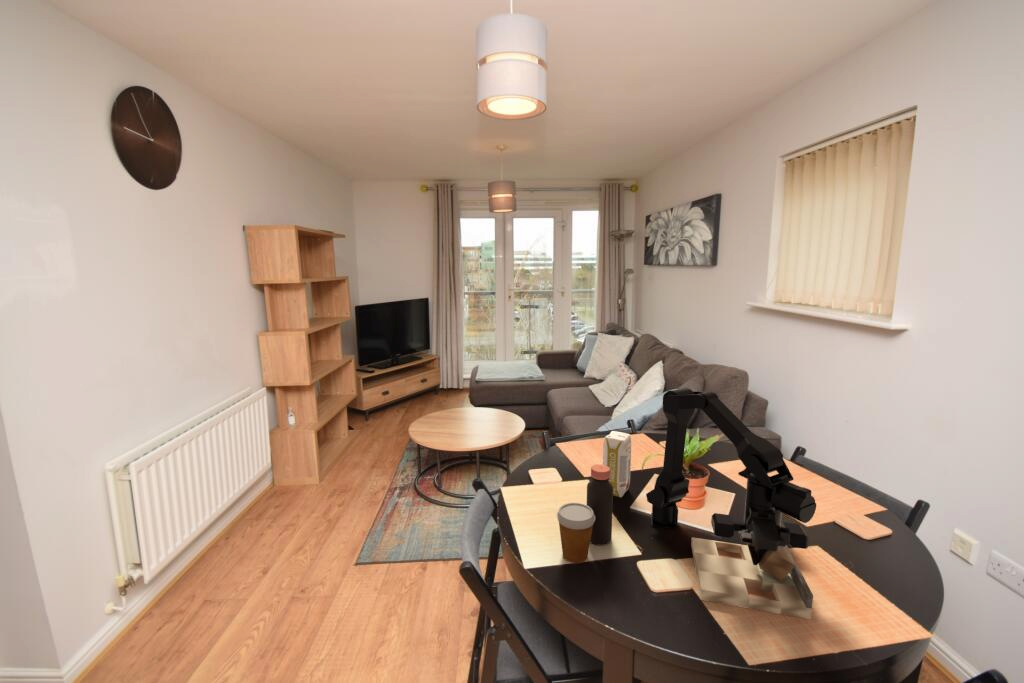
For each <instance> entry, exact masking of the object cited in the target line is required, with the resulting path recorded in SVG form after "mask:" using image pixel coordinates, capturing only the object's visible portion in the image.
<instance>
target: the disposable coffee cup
mask: <svg viewBox="0 0 1024 683" xmlns="http://www.w3.org/2000/svg"><path fill="white" fill-rule="evenodd" d="M556 518H557V521H558V525H559V533H560V542H561V551H562V557H563V558H564V560H566V562H568V563H571V564H582V563H584V562H586V561H587V560H588V558H589V551H590V546H591V545H590V544H591V542H590V540H591V534H592V527H593V523H594V522H595V515H594V512H593V510H592V509H591V508H590V507H589V506H587V504H584V503H581V502H568V503H564V504H563V505H561V506H560V507H559V508H558V511H557V513H556Z"/></svg>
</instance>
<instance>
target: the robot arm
mask: <svg viewBox="0 0 1024 683" xmlns="http://www.w3.org/2000/svg"><path fill="white" fill-rule="evenodd" d="M696 409H698V410H699V409H700V410H701V411H702V412H703V413H704V414H705V416H706V417H707V418H708V419H710V421H711V422H712V423H713V424H714V425H715V426H716V427H717V428H718V429H719V431H721V433H722V434H724V436H725V437H726V438H727V439H728V440H729V441H730V442H731V443H732V444H733V445H734V448H735V449H736V453H737V456H738V459H739V460H740V461H741V462H742V464H743V465H744V467H745V468H744V469H743V470H741V471H738V473H737V474H738V476H740V477H742V478H745V479H746V491H745V498H744V503H745V504H744V514H743V522H741V521H740V522H739V521H733V520H732V516H731V515H730V514H726V513H725V514H724V513H717V512H715V513H713V514H712V515H711V520H710V522H711V528H712V530H713V534H714V536H717V537H721V538H727V539H728V538H729V539H730V538H732V537H733V536H734V535H735V532H738V535H739V538H740V540H741V542H742V543H744V544H746V545H748V548H749V552H750V555H751V559H752V563H753V565H757V564H758V563H759V561H760V560H761V558H762V556H763V555H764V553H765V552H766V551H767V550H771V551H777V550H778V547H779V546H784V547H785V546H786V545H787V546H789V545H790V546H791V548H797V549H804V550H805V549H806V550H807V549H808V548H809V537H808V534H806V532H805V530H804V529H803V527H802V526H801V525H800V524H799V523H793V522H787V521H781V527H780V525H777V524H776V521H775V512H774V508H775V509H776V510H777V511H780V512H782V514H784V515H786V516H788V517H790V518H792V519H794V520H796V521H799V522H801V523H803V524H807V523H809V522H810V521H811V520H812V519H813V517H814V515H815V514H816V511H817V510H816V509H817V503H816V499H815V497H814V496H813V495H812V490H811V489H809V488H807V487H802V486H800V485H797V484H795V483H792V481H794V480H795V479H794V476H793V474H792V472H790V469H789V467H788V466H787V463H786V461H785V460H784V454H783V453H782V451H781V450H780V449H779V448H778V447H777V446H775V445H774V444H773V443H771V442H770V441H768V440H767V439H766V438H763V437H761V436H760V435H756V434H755V433H754V432H753V431H751V429H749V428H748V426H746V425H745V424H744V423H743V421H741V419H740V418H738V417H737V415H735V414H734V413H733V411H731V409H730V408H728V407H727V405H725V403H724V402H723V401H722V400H721V399H720V398H719V396H718V394H717V393H716V392H713V391H697V390H696V391H694V390H692V389H690V388H689V387H683V388H678V389H671V390H667V391H666V392H665V393H664V394H663V395H662V412H663V414H664V416H665V418H666V420H667V425H666V426H667V427H666V433H665V434H666V436H665V447H664V457H663V465H662V470H661V471H660V473H659V474H658V476H657V477H656V480H655V483H654V488H653V489H652V490H650V491H648V492H647V493H646V494H645V495H646V496H645V497H646V500H647V502H648V503H649V504H651V514H650V517H651V518H650V520H651V521H650V522H651V524H650V525H651V526H652V527H658V528H665V529H672V530H676V529H677V524H678V520H679V507H678V505H677V503H681V502H682V500H683V499H684V498H685V497H686V496H687V494H689V493H690V490H689V485H690V479H688V478H686V477H685V474H684V473H683V468H684V466H683V465H684V457H685V447H686V438H687V429H688V422H690V419H691V418H692V417H693V415H694V414H695V411H696ZM773 472H777V473H776V474H774V475H771V476H770V475H768V474H770V473H771V474H772V473H773Z"/></svg>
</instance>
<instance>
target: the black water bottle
mask: <svg viewBox="0 0 1024 683" xmlns="http://www.w3.org/2000/svg"><path fill="white" fill-rule="evenodd" d="M590 478H591V480H590V481H588V483H587V484H586V505H587V506H589V507H590V508H591V509H592V510H593V512H594V515H595V522H594V523H593V527H592V534H591V540H590V544H592V545H597V546H605V545H608V544H609V543H611V541H612V537H613V536H612V534H613V533H612V532H613V531H612V529H613V504H614V503H613V502H614V496H613V486H612V484H611V483H610V482H609V479H610V468H609V467H608V466H606V465H603V464H600V463H599V464H594V465H592V466H591V468H590Z"/></svg>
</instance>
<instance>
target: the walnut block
mask: <svg viewBox="0 0 1024 683" xmlns="http://www.w3.org/2000/svg"><path fill="white" fill-rule="evenodd" d="M758 564H759V567H760V569H762V570H763V571H765V572H767V573H768V574H770V575H771V576H773V577H775V578H776V579H778V580H780V581H781V582H782V581H783V579H784V578H785V577H786V576H787V575H788V574H789V572H790V571H791V570H792V569H793V568H794V566H795V564H794V562H793V560H792V557H791V555H790V553H789V552H788V551H786V550H785V549H783V548H781V547H780V546H779V547H778V550H777V551H771V550H767V551H766V552H765V553H764V555H763V556H762V558H761V560H760V561H759V563H758Z"/></svg>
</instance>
